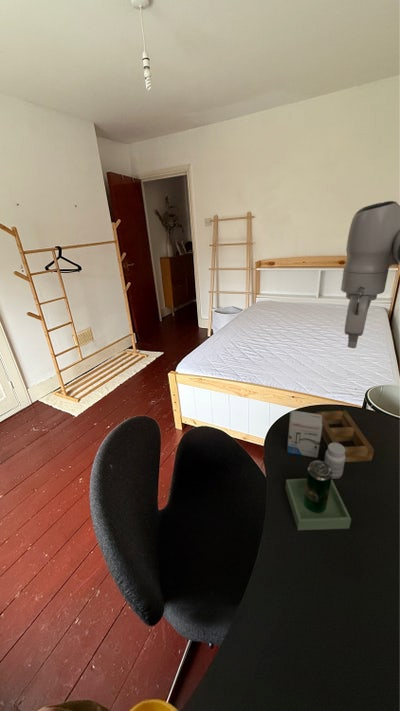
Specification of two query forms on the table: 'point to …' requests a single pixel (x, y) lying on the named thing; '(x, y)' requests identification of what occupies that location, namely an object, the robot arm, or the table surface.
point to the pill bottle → (335, 459)
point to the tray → (309, 520)
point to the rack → (346, 435)
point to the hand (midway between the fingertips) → (353, 339)
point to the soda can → (317, 486)
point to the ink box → (304, 433)
